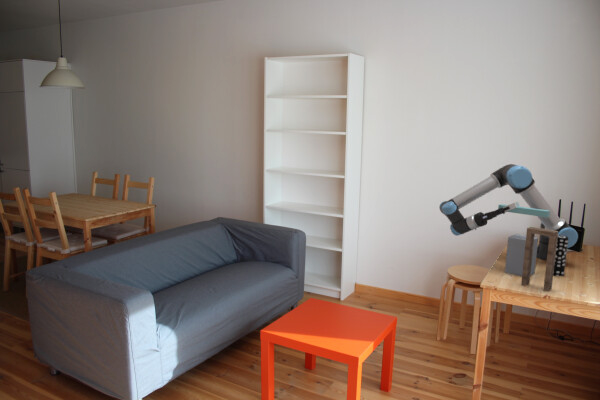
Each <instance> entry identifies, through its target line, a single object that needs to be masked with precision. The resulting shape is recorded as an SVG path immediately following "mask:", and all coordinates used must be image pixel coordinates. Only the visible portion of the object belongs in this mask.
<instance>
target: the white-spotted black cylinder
mask: <svg viewBox="0 0 600 400" xmlns="http://www.w3.org/2000/svg"><path fill="white" fill-rule="evenodd" d="M567 246H568V237H567V236H563V235H558V238H557V247H556V255H555V264H554V273H553V277H564V276H565V270H566V260H567V254H568V253H567V252H568V248H567Z"/></svg>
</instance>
